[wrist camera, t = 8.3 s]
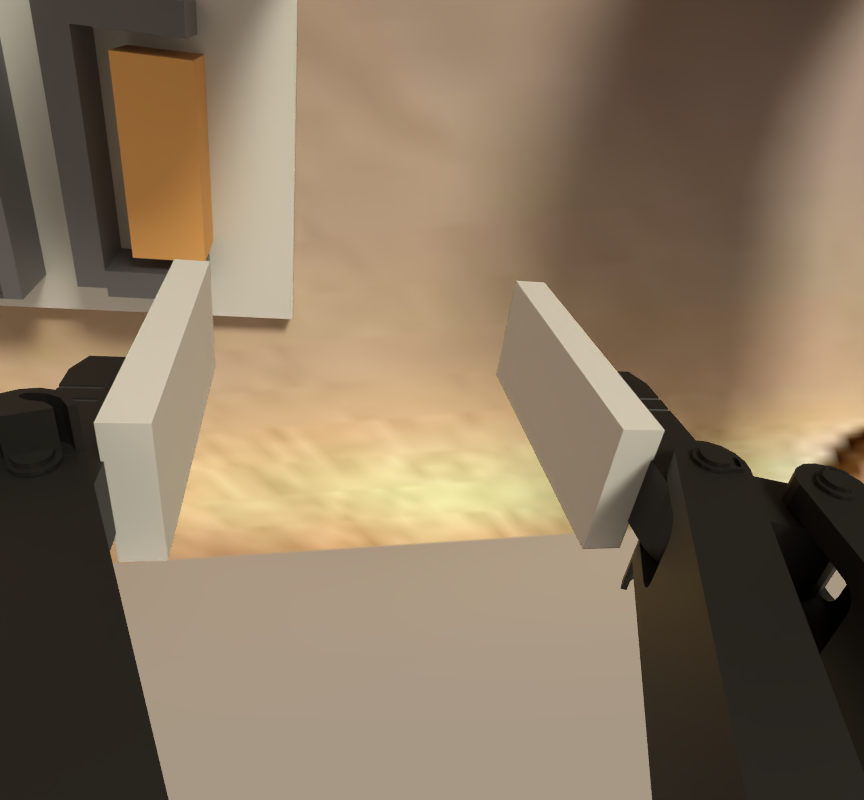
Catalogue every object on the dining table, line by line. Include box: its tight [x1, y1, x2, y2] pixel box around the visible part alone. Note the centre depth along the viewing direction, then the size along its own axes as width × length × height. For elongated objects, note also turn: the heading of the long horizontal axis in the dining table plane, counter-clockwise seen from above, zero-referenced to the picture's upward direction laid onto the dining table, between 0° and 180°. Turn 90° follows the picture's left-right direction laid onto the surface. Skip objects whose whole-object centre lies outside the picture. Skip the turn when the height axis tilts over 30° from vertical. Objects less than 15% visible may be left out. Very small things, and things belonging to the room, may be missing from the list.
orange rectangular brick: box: [108, 45, 213, 261], centre depth 27 cm, size 8×3×3 cm, turn 173°
